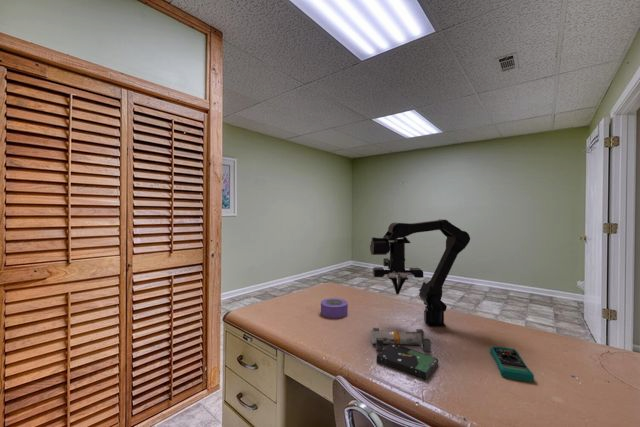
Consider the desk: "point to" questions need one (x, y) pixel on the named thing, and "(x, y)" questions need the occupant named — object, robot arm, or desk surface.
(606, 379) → the desk surface
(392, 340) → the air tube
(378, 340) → the collar stand
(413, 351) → the disk drive
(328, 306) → the tape roll
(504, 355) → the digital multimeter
